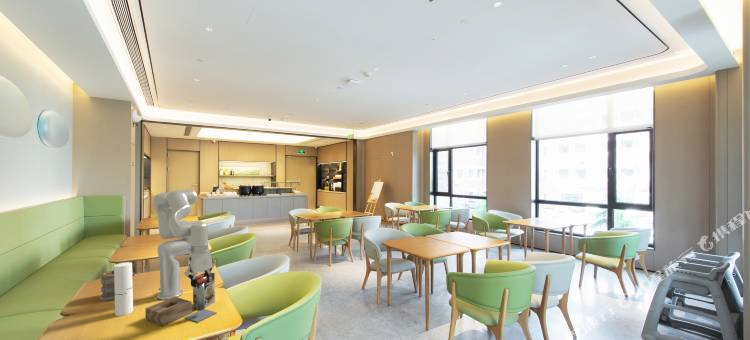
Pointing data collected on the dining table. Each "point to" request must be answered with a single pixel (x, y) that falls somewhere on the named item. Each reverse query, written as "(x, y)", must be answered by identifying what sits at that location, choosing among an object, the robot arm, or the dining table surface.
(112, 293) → the tankard
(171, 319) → the block
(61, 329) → the dining table surface
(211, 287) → the coffee box
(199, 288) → the red topped grey cylinder
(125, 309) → the cylindrical container
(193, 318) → the mat
